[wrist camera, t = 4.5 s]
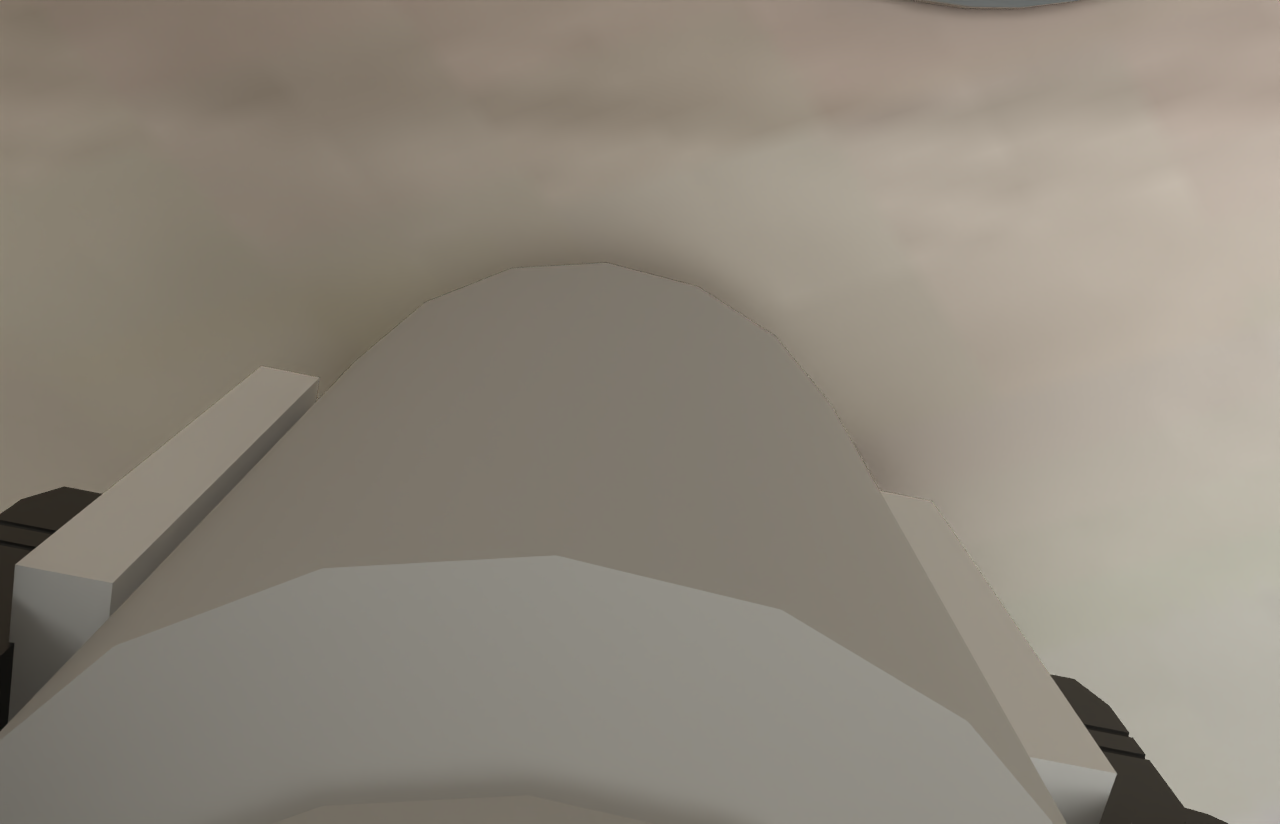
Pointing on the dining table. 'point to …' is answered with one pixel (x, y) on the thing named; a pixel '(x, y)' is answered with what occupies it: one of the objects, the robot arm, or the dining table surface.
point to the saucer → (993, 3)
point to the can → (537, 601)
